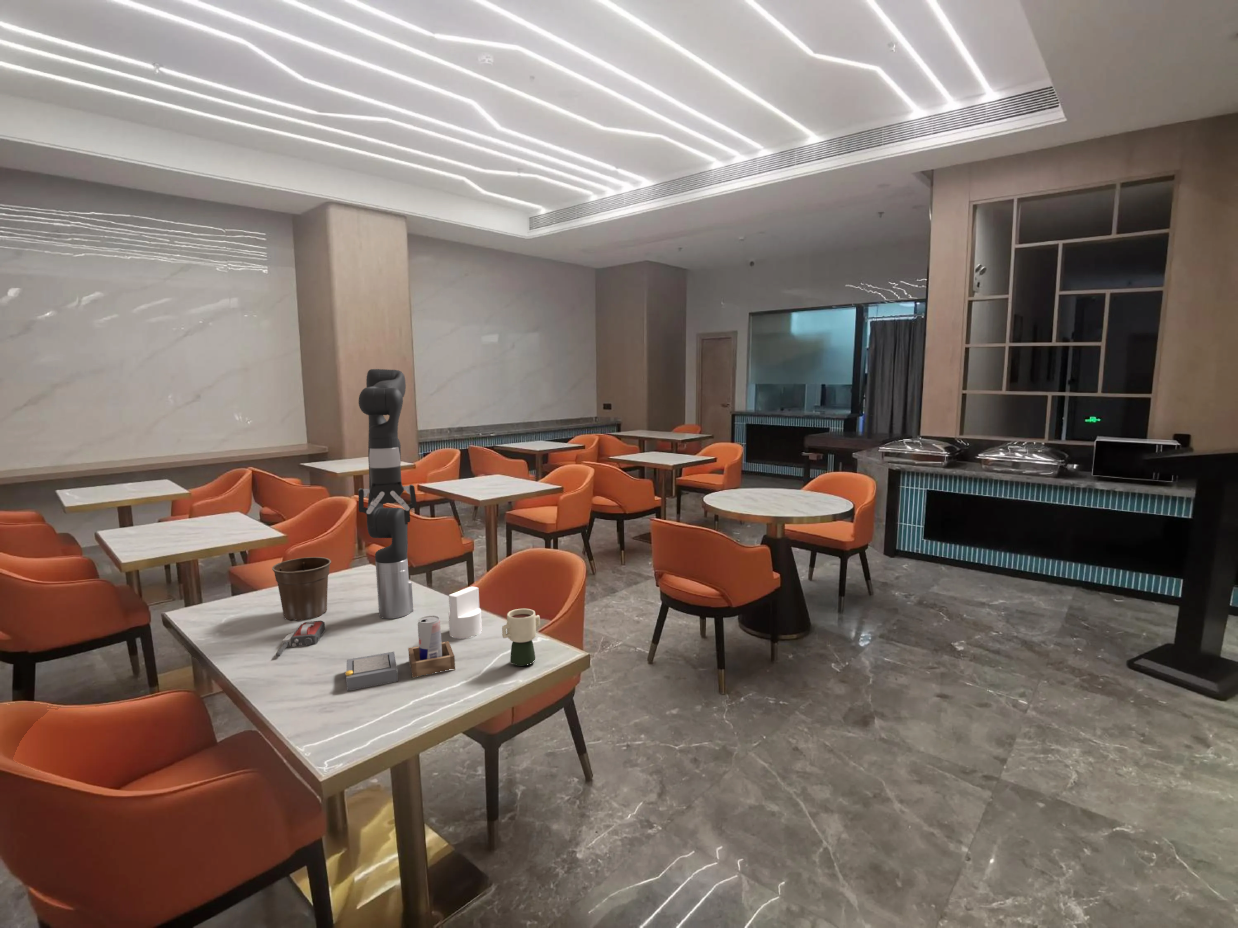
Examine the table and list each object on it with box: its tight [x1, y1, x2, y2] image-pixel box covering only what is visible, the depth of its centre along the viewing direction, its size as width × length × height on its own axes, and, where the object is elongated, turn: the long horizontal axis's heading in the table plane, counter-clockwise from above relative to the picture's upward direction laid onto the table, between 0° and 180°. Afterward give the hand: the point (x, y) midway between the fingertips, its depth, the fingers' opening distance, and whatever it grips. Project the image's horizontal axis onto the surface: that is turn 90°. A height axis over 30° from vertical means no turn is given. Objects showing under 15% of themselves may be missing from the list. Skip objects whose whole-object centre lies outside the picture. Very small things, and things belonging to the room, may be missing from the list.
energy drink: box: [417, 615, 442, 661], centre depth 154 cm, size 5×5×12 cm
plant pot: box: [271, 556, 332, 622], centre depth 191 cm, size 16×16×16 cm
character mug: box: [501, 608, 541, 667], centre depth 154 cm, size 11×7×13 cm, turn 131°
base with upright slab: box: [448, 586, 483, 639], centre depth 175 cm, size 9×9×12 cm
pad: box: [353, 654, 390, 675], centre depth 149 cm, size 8×8×2 cm
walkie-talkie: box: [275, 620, 326, 657], centre depth 170 cm, size 9×4×20 cm
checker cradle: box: [345, 651, 399, 692], centre depth 149 cm, size 11×11×4 cm
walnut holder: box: [407, 641, 456, 678], centre depth 154 cm, size 10×10×4 cm
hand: (389, 525), depth 163 cm, fingers open, 8 cm apart
